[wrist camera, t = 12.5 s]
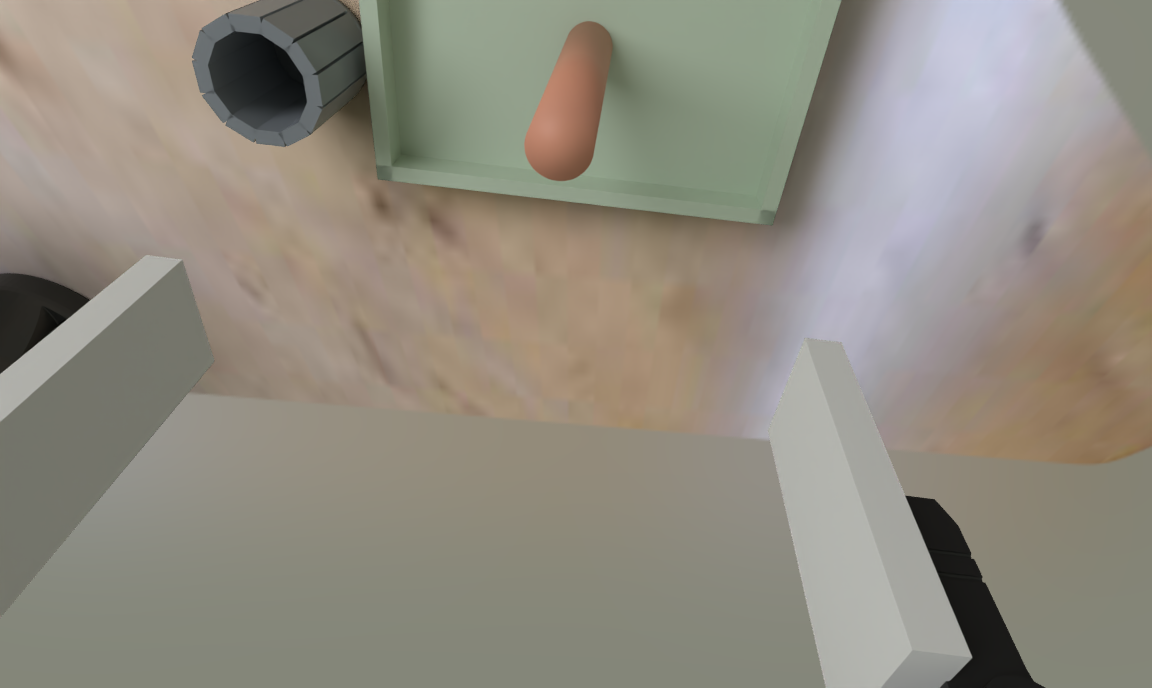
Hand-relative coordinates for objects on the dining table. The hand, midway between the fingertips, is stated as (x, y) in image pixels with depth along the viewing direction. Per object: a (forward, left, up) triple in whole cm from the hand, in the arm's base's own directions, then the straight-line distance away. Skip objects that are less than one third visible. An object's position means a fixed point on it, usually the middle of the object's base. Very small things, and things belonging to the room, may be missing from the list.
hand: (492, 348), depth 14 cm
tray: (0, -1, -31) cm, 31 cm away
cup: (-17, -3, -31) cm, 35 cm away
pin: (+1, 0, -30) cm, 30 cm away
